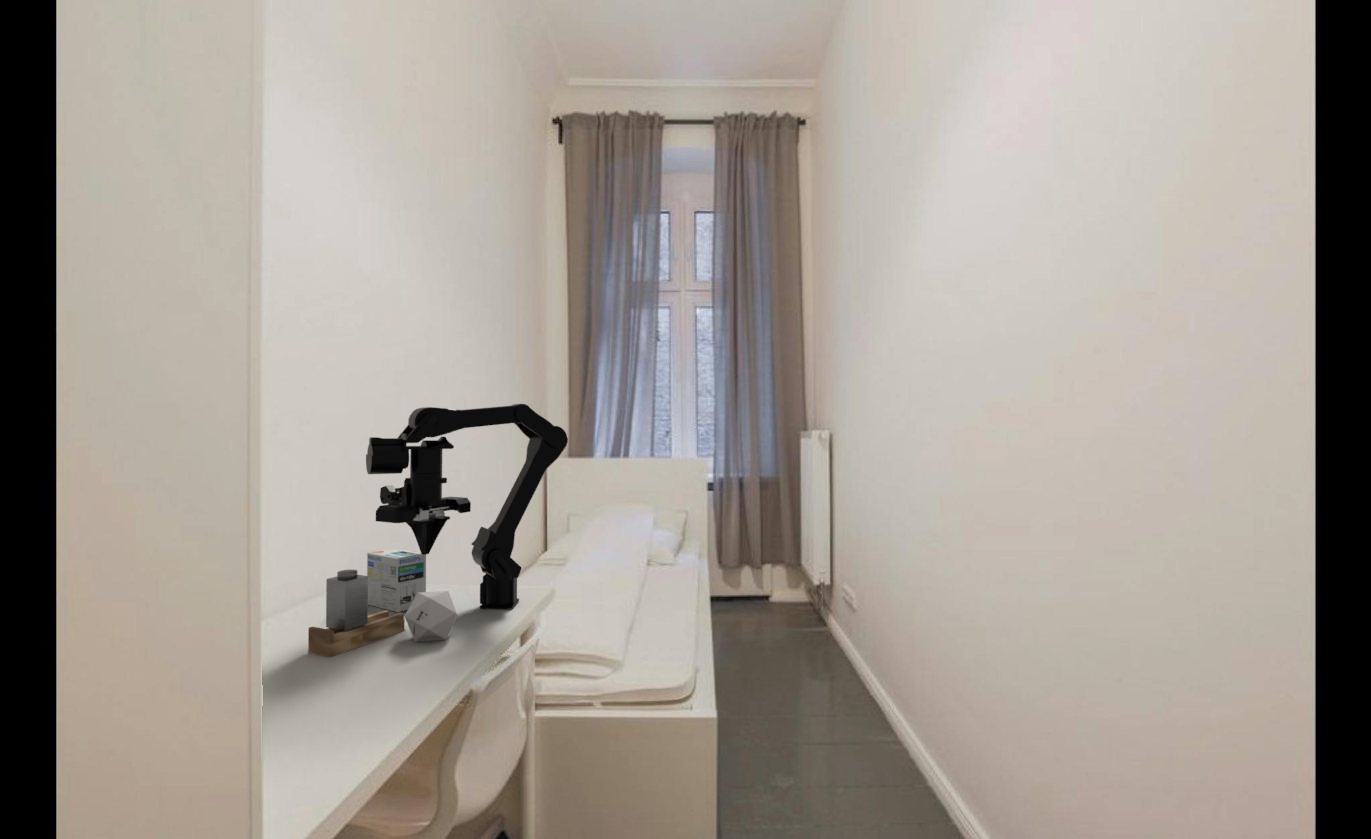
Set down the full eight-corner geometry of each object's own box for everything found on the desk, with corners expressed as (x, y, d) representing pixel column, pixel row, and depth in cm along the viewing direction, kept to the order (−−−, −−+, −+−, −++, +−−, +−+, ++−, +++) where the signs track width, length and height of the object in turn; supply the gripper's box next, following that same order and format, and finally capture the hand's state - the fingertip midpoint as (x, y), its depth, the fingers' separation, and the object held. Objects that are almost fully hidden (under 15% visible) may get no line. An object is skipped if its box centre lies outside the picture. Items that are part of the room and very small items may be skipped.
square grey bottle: (349, 625, 115) (349, 567, 115) (367, 628, 113) (367, 570, 113) (326, 632, 111) (326, 572, 111) (344, 636, 109) (345, 575, 109)
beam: (383, 626, 122) (383, 604, 122) (404, 630, 120) (405, 608, 120) (307, 652, 109) (308, 627, 109) (330, 657, 107) (330, 632, 107)
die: (397, 640, 117) (392, 605, 111) (432, 605, 124) (428, 571, 118) (435, 661, 115) (431, 627, 109) (468, 625, 122) (466, 591, 116)
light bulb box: (427, 605, 137) (427, 552, 137) (397, 613, 131) (398, 558, 131) (394, 597, 142) (395, 546, 142) (365, 605, 137) (365, 552, 137)
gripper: (431, 468, 140) (430, 543, 140) (354, 474, 123) (353, 559, 123) (472, 470, 136) (471, 547, 136) (399, 476, 119) (397, 565, 119)
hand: (425, 554), depth 129 cm, fingers closed
